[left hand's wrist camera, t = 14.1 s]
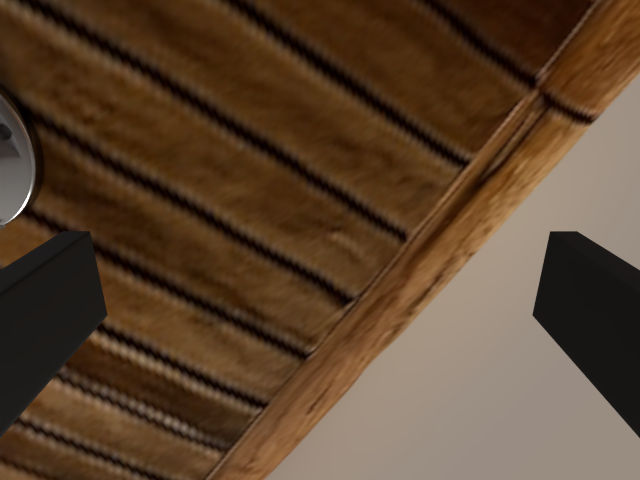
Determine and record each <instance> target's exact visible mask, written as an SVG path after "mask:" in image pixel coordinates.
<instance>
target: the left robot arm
mask: <svg viewBox="0 0 640 480" xmlns="http://www.w3.org/2000/svg"><path fill="white" fill-rule="evenodd" d="M42 179H43V156H42V150H41V146H40V142H39V139H38V136H37V134H36V131H35V129H34V127H33V125H32V123H31V121H30V119H29V118H28V116H27V114H26V113H25V111H24V110H23V108H22V107H21V106H20V105H19V103H18V102H17V101H16V100H15V98H14V97H13V96H12V95H11V94H10V93H9V92H8V91H7V90H6V89H5V88H4V87H3V86H1V85H0V229H2V228H4V227H6V226H4V225H5V224H7V223H9V222H11V221H13V220H15V219H17V218H18V217H20V216H21V215H22V214H24V213H25V212H26V211H27V210H28V209H29V208H30V206H31V205H32V204H33V202H34V201H35V199H36V197H37V195H38V193H39V191H40V188H41V184H42ZM106 316H107V310H106V306H105V301H104V296H103V292H102V287H101V282H100V277H99V273H98V268H97V263H96V258H95V254H94V249H93V244H92V240H91V235H90V231H63V232H61V233H60V234H58V235H56V236H55V237H53V238H52V239H50V240H48V241H47V242H45V243H44V244H42V245H40V246H39V247H37V248H36V249H34V250H32V251H31V252H29V253H27V254H26V255H24V256H23V257H21V258H19V259H18V260H16V261H15V262H13V263H11V264H10V265H8V266H6V267H5V268H3V269H2V270H0V438H1V436H2V435H3V434H4V433H5V432H6V431H7V430H8V428H9V427H10V426H11V425H12V424H13V423H14V422H15V420H16V419H17V418H18V417H19V416H20V415H21V414H22V412H23V411H24V410H25V409H26V408H27V407H28V406H29V404H30V403H31V402H32V401H33V400H34V399H35V398H36V396H37V395H38V394H39V393H40V392H41V391H42V390H43V388H44V387H45V386H46V385H47V384H48V383H49V382H50V380H51V379H52V378H53V377H54V376H55V375H56V374H57V372H58V371H59V370H60V369H61V368H62V367H63V366H64V364H65V363H66V362H67V361H68V360H69V359H70V358H71V356H72V355H73V354H74V353H75V352H76V351H77V350H78V348H79V347H80V346H81V345H82V344H83V343H84V342H85V340H86V339H87V338H88V337H89V336H90V335H91V334H92V332H93V331H94V330H95V329H96V328H97V327H98V326H99V324H100V323H101V322H102V321H103V320H104V319H105V317H106ZM533 316H534V317H535V319H536V320H537V321H538V322H539V323H540V324H541V326H542V327H543V328H544V329H545V330H546V331H547V332H548V334H549V335H550V336H551V337H552V338H553V339H554V340H555V342H556V343H557V344H558V345H559V346H560V347H561V348H562V350H563V351H564V352H565V353H566V354H567V355H568V356H569V358H570V359H571V360H572V361H573V362H574V363H575V364H576V366H577V367H578V368H579V369H580V370H581V371H582V372H583V374H584V375H585V376H586V377H587V378H588V379H589V380H590V382H591V383H592V384H593V385H594V386H595V387H596V388H597V390H598V391H599V392H600V393H601V394H602V395H603V396H604V398H605V399H606V400H607V401H608V402H609V403H610V404H611V406H612V407H613V408H614V409H615V410H616V411H617V412H618V414H619V415H620V416H621V417H622V418H623V419H624V420H625V422H626V423H627V424H628V425H629V426H630V427H631V428H632V430H633V431H634V432H635V433H636V434H637V435H638V436H639V438H640V270H638V269H637V268H635V267H633V266H632V265H630V264H629V263H627V262H625V261H624V260H622V259H621V258H619V257H617V256H616V255H614V254H612V253H611V252H609V251H608V250H606V249H604V248H603V247H601V246H600V245H598V244H596V243H595V242H593V241H592V240H590V239H588V238H587V237H585V236H584V235H582V234H580V233H579V232H577V231H576V232H575V231H568V232H566V231H562V232H561V231H557V232H556V231H555V232H550V235H549V240H548V244H547V249H546V254H545V258H544V263H543V268H542V273H541V277H540V282H539V287H538V291H537V296H536V301H535V306H534V311H533Z"/></svg>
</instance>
